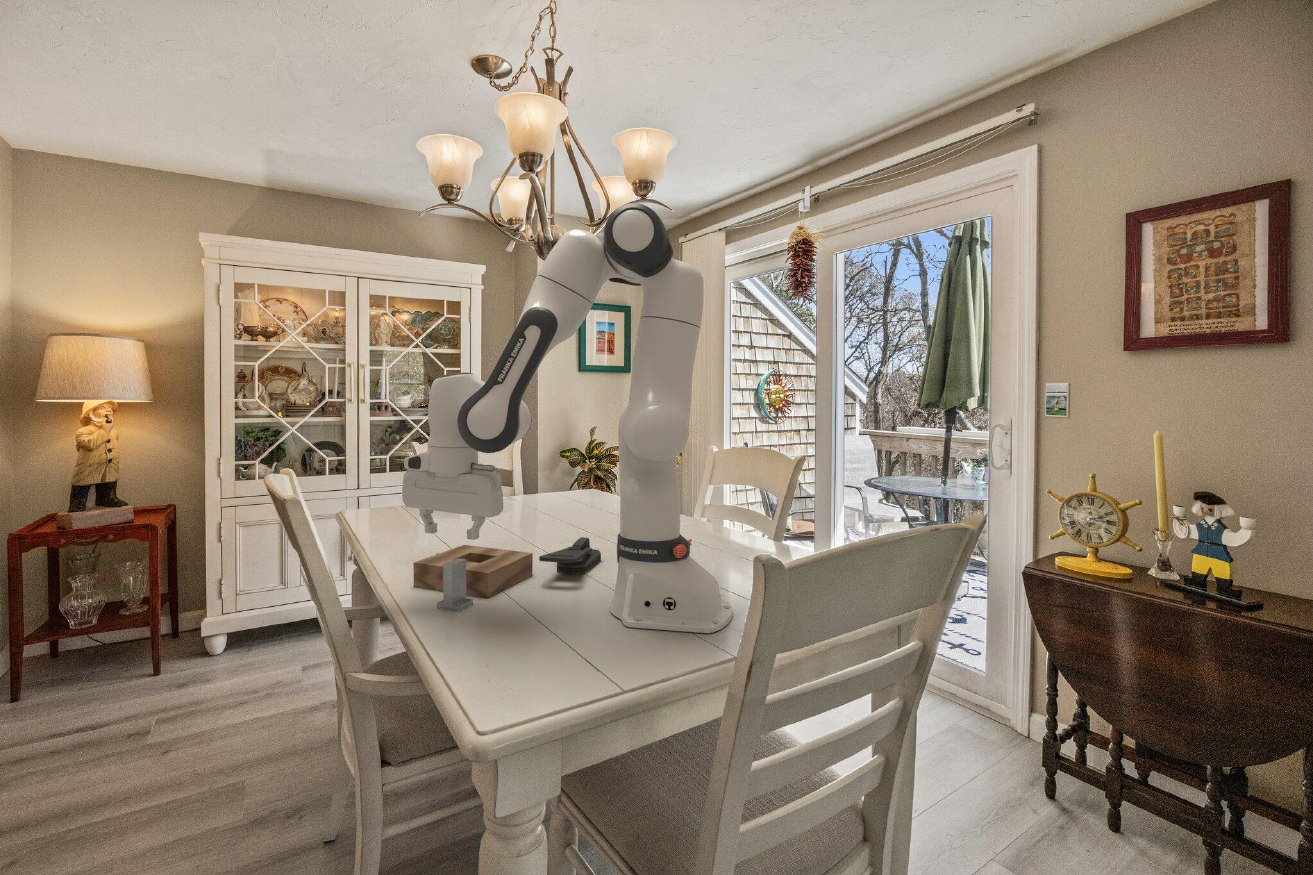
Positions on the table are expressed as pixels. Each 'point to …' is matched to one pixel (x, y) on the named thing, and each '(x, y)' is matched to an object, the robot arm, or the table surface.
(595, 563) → the zipper pull
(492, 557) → the walnut well
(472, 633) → the table surface
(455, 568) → the steel bracket
